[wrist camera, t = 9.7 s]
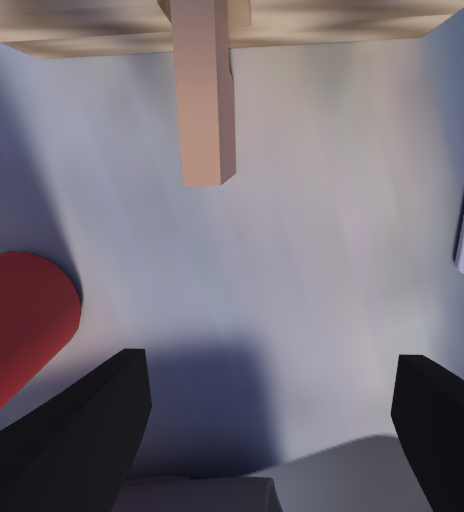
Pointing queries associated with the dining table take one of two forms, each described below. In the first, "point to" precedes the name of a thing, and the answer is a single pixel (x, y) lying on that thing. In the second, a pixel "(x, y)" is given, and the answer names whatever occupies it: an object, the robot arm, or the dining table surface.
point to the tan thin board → (204, 91)
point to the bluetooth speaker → (197, 495)
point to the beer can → (32, 317)
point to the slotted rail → (239, 24)
